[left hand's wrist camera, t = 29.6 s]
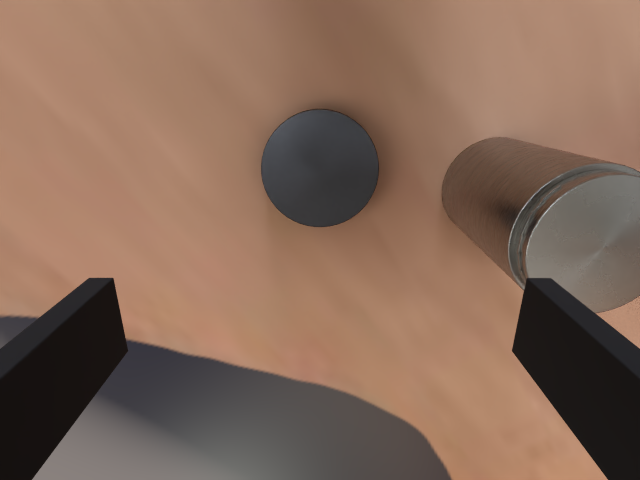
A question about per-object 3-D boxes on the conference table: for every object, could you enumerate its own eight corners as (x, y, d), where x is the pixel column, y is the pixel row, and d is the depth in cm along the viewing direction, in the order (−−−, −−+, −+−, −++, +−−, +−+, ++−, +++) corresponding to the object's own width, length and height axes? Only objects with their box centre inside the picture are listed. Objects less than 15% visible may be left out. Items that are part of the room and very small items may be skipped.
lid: (383, 114, 37) (386, 115, 35) (368, 225, 40) (370, 231, 39) (266, 103, 36) (263, 104, 35) (261, 217, 40) (259, 222, 38)
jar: (427, 221, 40) (493, 300, 25) (464, 125, 37) (565, 147, 22) (516, 244, 41) (632, 334, 26) (559, 152, 38) (721, 192, 23)
